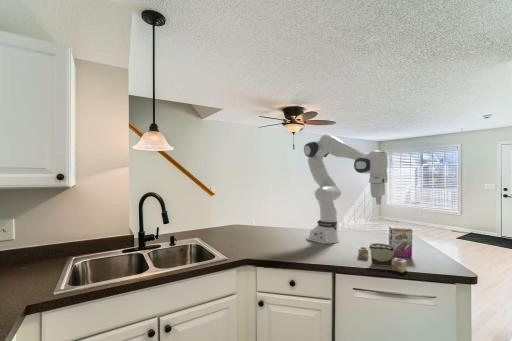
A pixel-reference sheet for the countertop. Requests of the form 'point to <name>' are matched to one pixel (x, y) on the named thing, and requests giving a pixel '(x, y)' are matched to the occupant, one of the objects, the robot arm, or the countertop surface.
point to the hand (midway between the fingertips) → (378, 204)
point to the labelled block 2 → (399, 265)
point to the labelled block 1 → (363, 252)
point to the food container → (381, 254)
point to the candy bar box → (401, 241)
